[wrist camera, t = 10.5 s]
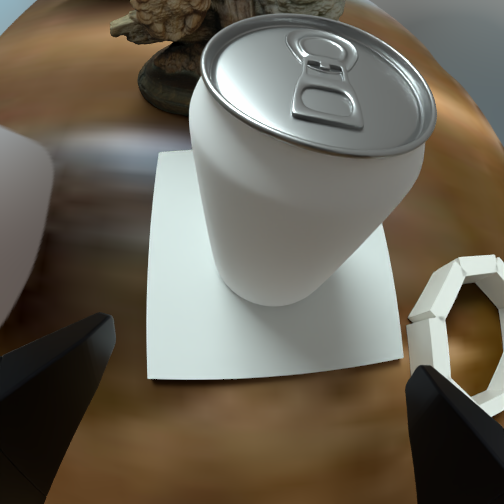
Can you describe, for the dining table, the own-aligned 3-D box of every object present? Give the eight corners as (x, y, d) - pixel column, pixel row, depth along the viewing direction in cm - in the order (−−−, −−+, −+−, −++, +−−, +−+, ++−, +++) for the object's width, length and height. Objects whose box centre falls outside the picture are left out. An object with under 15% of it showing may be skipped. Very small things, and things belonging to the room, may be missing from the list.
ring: (513, 391, 15) (535, 390, 12) (412, 435, 14) (435, 442, 12) (498, 263, 18) (518, 252, 16) (398, 273, 18) (418, 260, 15)
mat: (398, 358, 16) (403, 357, 15) (150, 378, 15) (147, 378, 14) (359, 156, 21) (362, 151, 20) (160, 157, 20) (158, 152, 19)
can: (329, 207, 18) (415, 38, 7) (325, 314, 16) (483, 208, 5) (223, 192, 18) (214, 0, 7) (204, 300, 16) (135, 150, 5)
